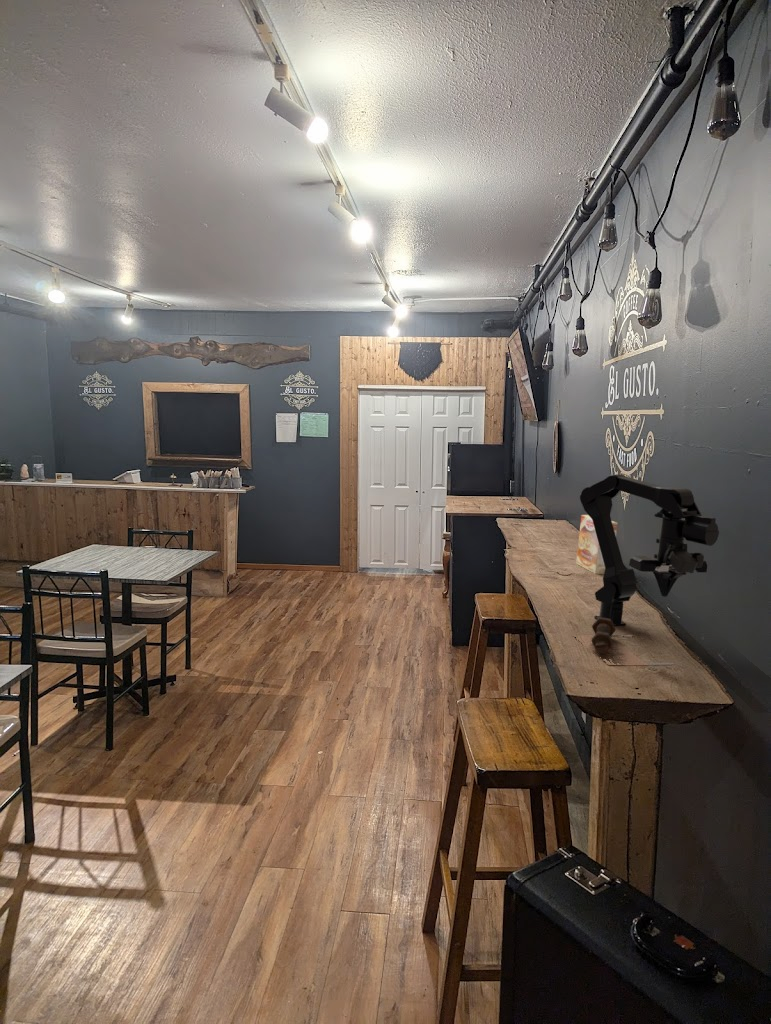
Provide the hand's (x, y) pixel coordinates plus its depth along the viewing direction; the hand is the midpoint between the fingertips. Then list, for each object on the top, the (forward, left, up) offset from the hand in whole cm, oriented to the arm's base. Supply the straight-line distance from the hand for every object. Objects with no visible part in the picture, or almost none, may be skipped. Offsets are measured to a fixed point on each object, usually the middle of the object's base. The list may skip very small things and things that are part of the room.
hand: (664, 596), depth 161 cm
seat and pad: (+6, -14, -12) cm, 19 cm away
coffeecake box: (-72, +19, -12) cm, 76 cm away
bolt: (+4, -18, -12) cm, 22 cm away
